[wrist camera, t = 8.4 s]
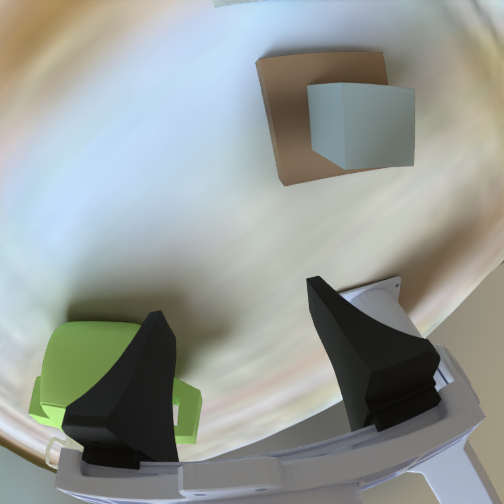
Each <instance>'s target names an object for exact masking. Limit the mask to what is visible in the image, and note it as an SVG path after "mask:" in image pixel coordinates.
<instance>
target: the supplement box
mask: <svg viewBox="0 0 504 504" xmlns="http://www.w3.org/2000/svg"><path fill="white" fill-rule="evenodd" d="M256 1H266V0H212V3H213V6H214V7H221V6H227V5H234V4H240V3H248V2H256Z"/></svg>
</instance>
